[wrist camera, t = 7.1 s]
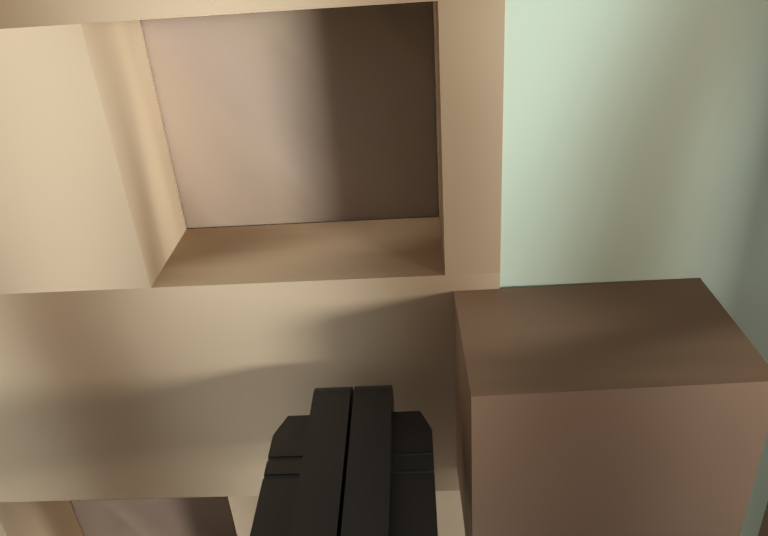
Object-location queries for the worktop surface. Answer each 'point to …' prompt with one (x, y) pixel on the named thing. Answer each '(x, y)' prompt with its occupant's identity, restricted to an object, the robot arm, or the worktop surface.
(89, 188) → the tray
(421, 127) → the worktop surface
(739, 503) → the block
